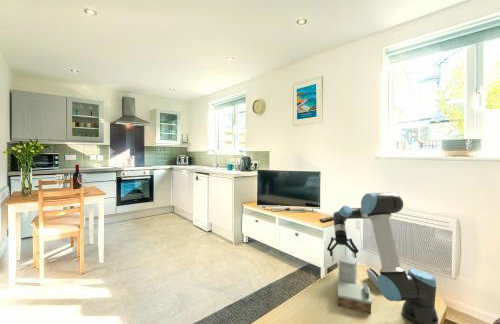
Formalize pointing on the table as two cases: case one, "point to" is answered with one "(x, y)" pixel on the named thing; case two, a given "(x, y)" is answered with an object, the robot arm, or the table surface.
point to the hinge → (373, 275)
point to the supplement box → (347, 270)
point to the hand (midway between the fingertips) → (343, 261)
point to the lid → (354, 292)
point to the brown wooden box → (354, 305)
